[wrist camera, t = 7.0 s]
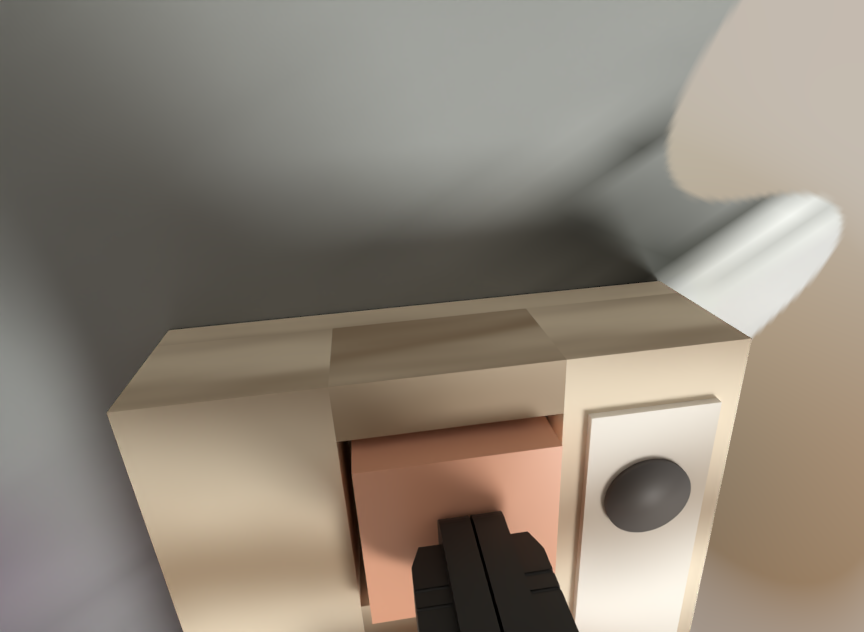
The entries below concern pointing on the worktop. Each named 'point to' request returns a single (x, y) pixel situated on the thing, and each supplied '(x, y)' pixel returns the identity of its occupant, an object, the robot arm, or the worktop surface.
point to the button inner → (449, 495)
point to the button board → (421, 411)
